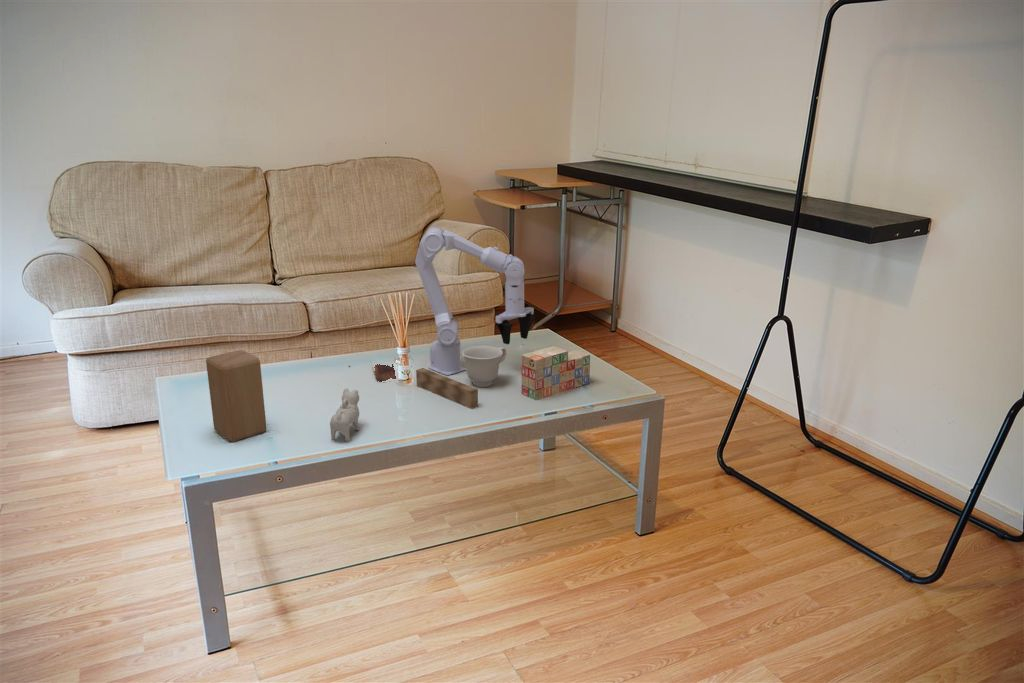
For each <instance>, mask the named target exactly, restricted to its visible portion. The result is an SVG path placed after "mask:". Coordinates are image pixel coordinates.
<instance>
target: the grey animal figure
mask: <svg viewBox="0 0 1024 683" xmlns="http://www.w3.org/2000/svg"><path fill="white" fill-rule="evenodd" d="M359 401H360V395H359V390H357V389H353V390H352V391H349V388H345V389H343V392H342V395H341V402H342V404H341V405H339V408H338V409H337V410H336V412H335V414H334V415H332V417H331V418H330V422H329V427H330V436H331V439H330V440H331V441H332V440H335V441H336V434H337V432H339V433H341V434H343V436H344V437H345V438H344V442H346V441H347V443H349V442H351V438H350V426H351V425H352V426H353V428H354V431H355V430H359V431H361V428H360V425H359V417H360V410H359V407H358V403H359Z"/></svg>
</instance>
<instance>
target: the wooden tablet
mask: <svg viewBox="0 0 1024 683" xmlns="http://www.w3.org/2000/svg"><path fill="white" fill-rule="evenodd" d="M393 367H394V366H393V364H392V367H390V366H388V365H387V366H386V365H380V364H379V365H378V364H377V365H375V367H374V368H375V371H373V374H374V373H375V374H374V376H375V380H376V379H377V380H376V381H377V382H378V381H379V382H382V381H386V380H388V379H390V378H392V379H396V376H395V370H394V368H393ZM379 382H378V383H379Z"/></svg>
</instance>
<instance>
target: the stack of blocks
mask: <svg viewBox="0 0 1024 683" xmlns="http://www.w3.org/2000/svg"><path fill="white" fill-rule="evenodd" d="M520 373H521V374H520V375H521V395H523V396H526V397H527V398H530V399H532V400H534V401H537V400H541V399H545V398H548V397H551V396H556V395H557V394H560V393H564V392H567V391H569V389H570V390H573V389H576V387H577V388H579V386H580V387H583V386H587V385H589V384H590V374H591V355H590V354H589V353H587V352H585V351H584V352H583V351H580V350H578V349H573V350H570V351H569V350H566V349H563V348H560V347H557V346H550V347H546V348H541V349H538V350H535V351H531V352H526V353H523V354H521V370H520ZM586 384H587V385H586ZM582 385H583V386H582Z"/></svg>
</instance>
